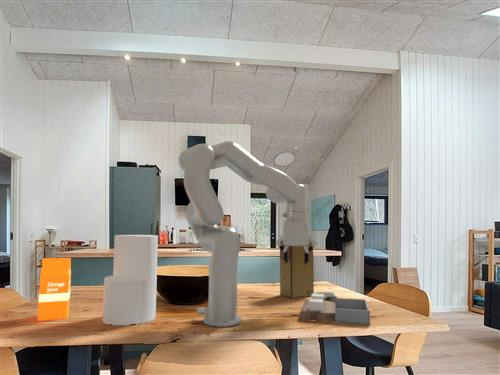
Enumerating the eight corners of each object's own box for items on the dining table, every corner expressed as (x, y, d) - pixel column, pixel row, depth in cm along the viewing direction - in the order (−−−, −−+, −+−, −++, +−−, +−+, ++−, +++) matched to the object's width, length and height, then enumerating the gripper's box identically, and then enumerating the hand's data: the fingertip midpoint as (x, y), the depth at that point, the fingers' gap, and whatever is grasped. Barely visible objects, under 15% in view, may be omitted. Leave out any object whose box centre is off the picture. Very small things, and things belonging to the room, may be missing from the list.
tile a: (311, 304, 137) (311, 295, 138) (312, 301, 142) (312, 293, 142) (323, 304, 136) (323, 296, 137) (324, 302, 141) (324, 294, 141)
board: (300, 320, 126) (300, 311, 127) (305, 308, 144) (305, 300, 144) (335, 322, 124) (335, 313, 124) (335, 310, 141) (335, 302, 141)
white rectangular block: (309, 310, 128) (309, 301, 128) (310, 307, 132) (310, 298, 132) (322, 311, 127) (322, 302, 127) (323, 308, 131) (322, 299, 131)
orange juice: (41, 315, 130) (44, 257, 132) (69, 313, 133) (72, 256, 135) (37, 320, 123) (40, 259, 125) (66, 318, 126) (69, 259, 128)
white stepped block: (129, 310, 139) (132, 234, 141) (166, 315, 131) (168, 235, 133) (90, 320, 123) (94, 236, 126) (129, 328, 115) (132, 237, 118)
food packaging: (301, 292, 176) (301, 239, 178) (314, 295, 168) (314, 240, 170) (278, 295, 169) (278, 239, 171) (291, 298, 161) (291, 240, 163)
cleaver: (342, 308, 145) (342, 303, 145) (317, 307, 146) (317, 302, 146) (332, 294, 174) (332, 290, 175) (311, 294, 175) (311, 289, 175)
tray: (335, 322, 124) (335, 308, 124) (335, 310, 141) (335, 298, 142) (369, 325, 121) (369, 310, 122) (366, 311, 139) (365, 299, 139)
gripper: (272, 216, 142) (272, 263, 140) (318, 216, 138) (318, 265, 136) (275, 216, 149) (275, 261, 148) (319, 216, 145) (319, 263, 144)
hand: (296, 262), depth 142 cm, fingers open, 6 cm apart
